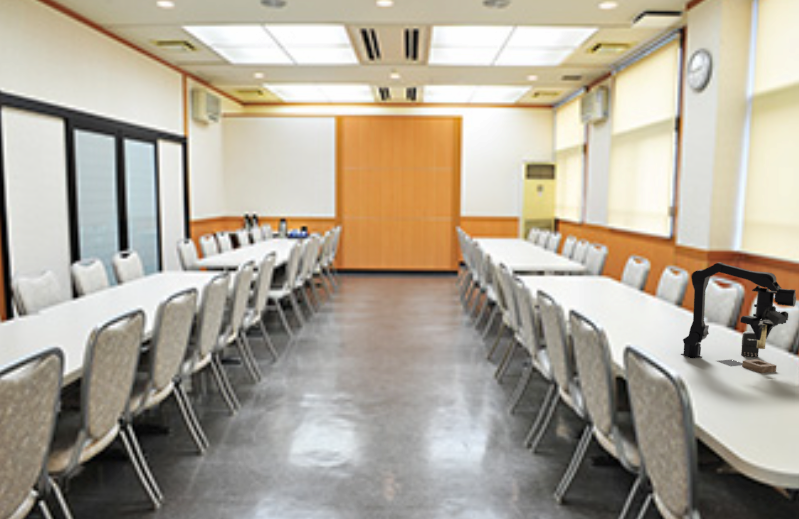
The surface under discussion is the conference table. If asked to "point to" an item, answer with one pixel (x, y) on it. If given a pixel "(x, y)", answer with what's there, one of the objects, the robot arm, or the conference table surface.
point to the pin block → (759, 366)
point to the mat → (730, 362)
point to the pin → (762, 338)
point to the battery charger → (749, 345)
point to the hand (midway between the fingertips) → (761, 339)
